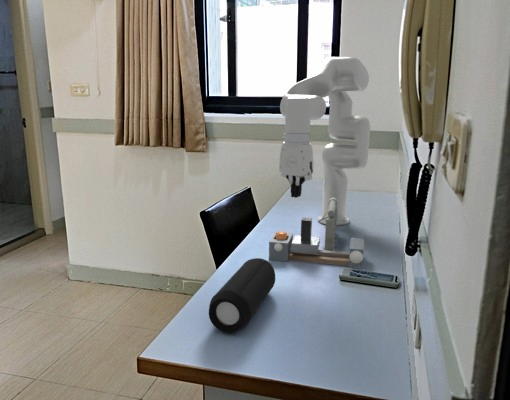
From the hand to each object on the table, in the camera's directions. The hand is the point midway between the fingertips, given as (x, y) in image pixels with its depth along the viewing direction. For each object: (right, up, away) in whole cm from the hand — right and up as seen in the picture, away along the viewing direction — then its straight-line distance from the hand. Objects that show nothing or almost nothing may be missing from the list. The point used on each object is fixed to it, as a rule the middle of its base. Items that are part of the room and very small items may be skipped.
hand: (295, 196), depth 146 cm
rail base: (+7, -20, +3) cm, 21 cm away
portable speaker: (-15, -29, -31) cm, 45 cm away
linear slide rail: (+7, -20, +3) cm, 21 cm away
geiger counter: (+14, -15, +22) cm, 30 cm away
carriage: (+3, -17, +3) cm, 17 cm away
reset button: (-4, -16, +5) cm, 17 cm away
